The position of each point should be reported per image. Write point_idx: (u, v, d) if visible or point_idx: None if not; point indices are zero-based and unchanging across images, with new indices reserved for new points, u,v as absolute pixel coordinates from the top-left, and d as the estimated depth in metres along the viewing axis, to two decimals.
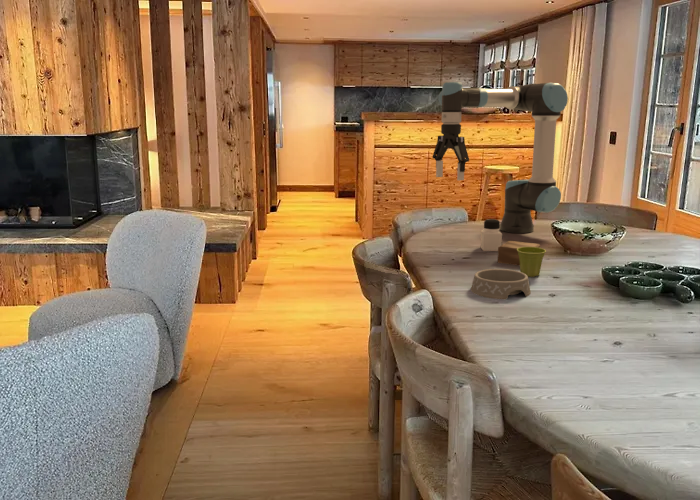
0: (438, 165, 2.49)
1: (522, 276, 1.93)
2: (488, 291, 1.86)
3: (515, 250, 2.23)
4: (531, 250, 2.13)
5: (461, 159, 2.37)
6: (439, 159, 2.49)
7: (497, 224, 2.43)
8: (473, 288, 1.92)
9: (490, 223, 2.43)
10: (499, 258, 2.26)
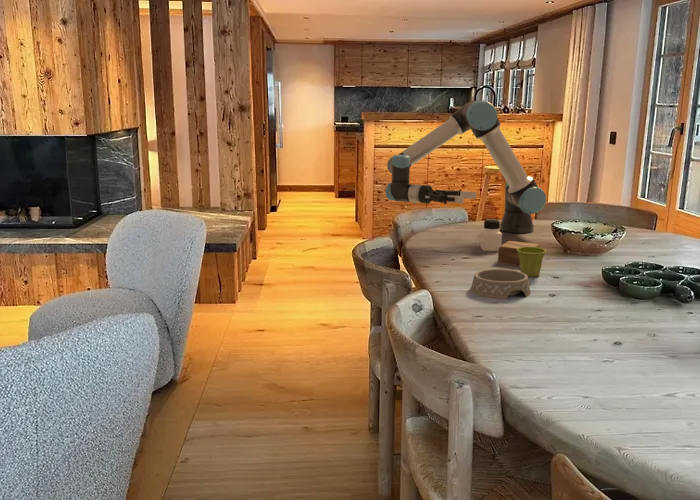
0: (464, 196, 2.56)
1: (522, 276, 1.93)
2: (488, 291, 1.86)
3: (516, 250, 2.23)
4: (531, 250, 2.13)
5: None
6: (459, 194, 2.58)
7: (497, 224, 2.43)
8: (473, 288, 1.92)
9: (490, 223, 2.43)
10: (499, 258, 2.26)
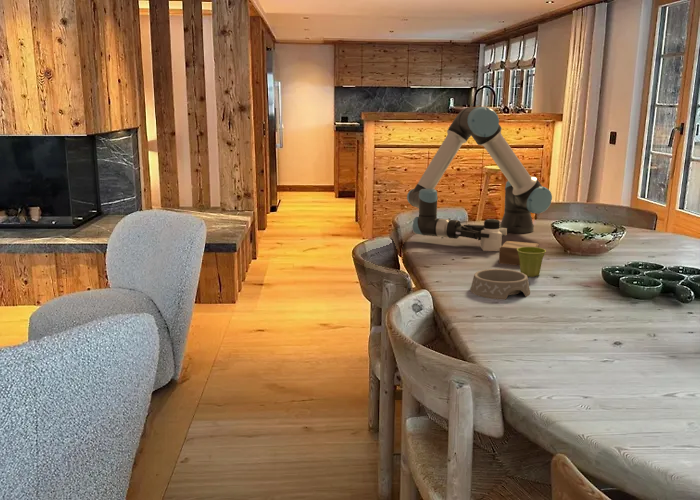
0: None
1: (522, 276, 1.93)
2: (487, 291, 1.86)
3: None
4: (531, 250, 2.13)
5: None
6: None
7: (497, 224, 2.43)
8: (473, 288, 1.91)
9: (490, 223, 2.43)
10: (500, 259, 2.26)
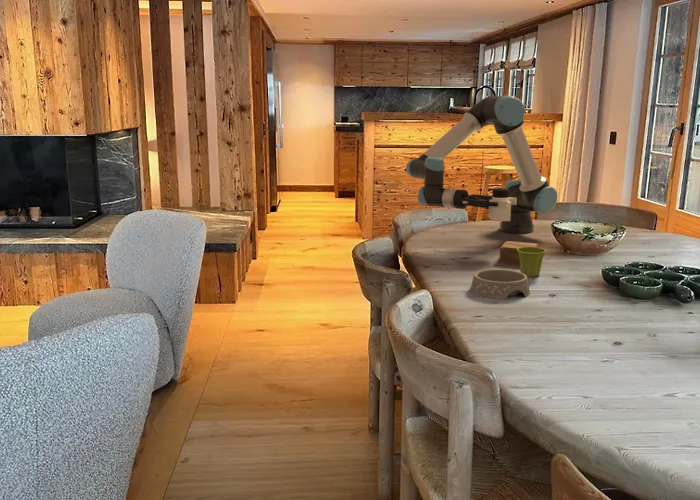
0: None
1: (521, 276, 1.93)
2: (487, 291, 1.86)
3: None
4: (531, 250, 2.13)
5: None
6: None
7: (506, 192, 2.31)
8: (472, 288, 1.91)
9: (499, 191, 2.31)
10: (501, 259, 2.25)
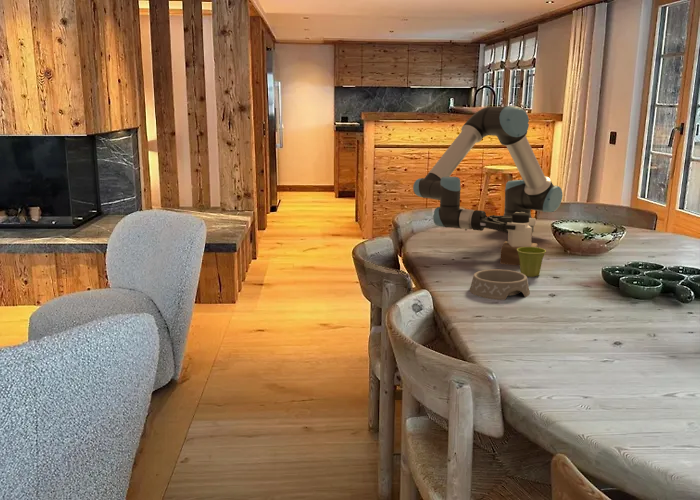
0: None
1: (521, 276, 1.93)
2: (487, 292, 1.86)
3: None
4: (531, 250, 2.13)
5: None
6: None
7: (526, 217, 2.23)
8: (472, 289, 1.91)
9: (519, 216, 2.23)
10: (502, 259, 2.25)
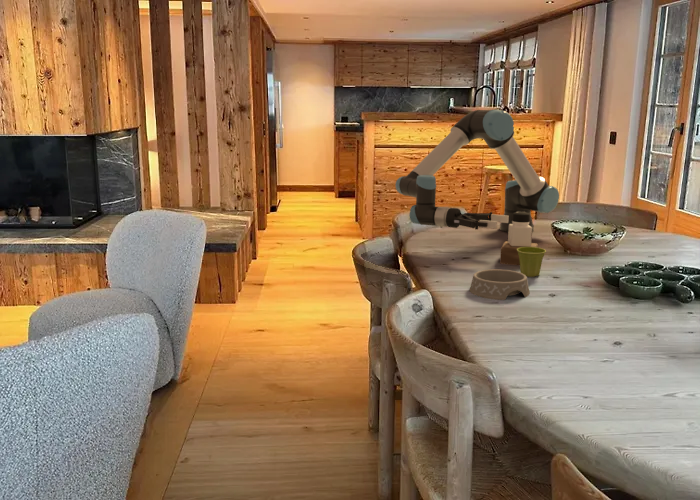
0: (495, 220, 2.37)
1: (521, 276, 1.93)
2: (487, 292, 1.86)
3: None
4: (531, 250, 2.13)
5: None
6: (490, 217, 2.39)
7: (527, 217, 2.23)
8: (472, 289, 1.91)
9: (519, 216, 2.23)
10: (502, 259, 2.25)
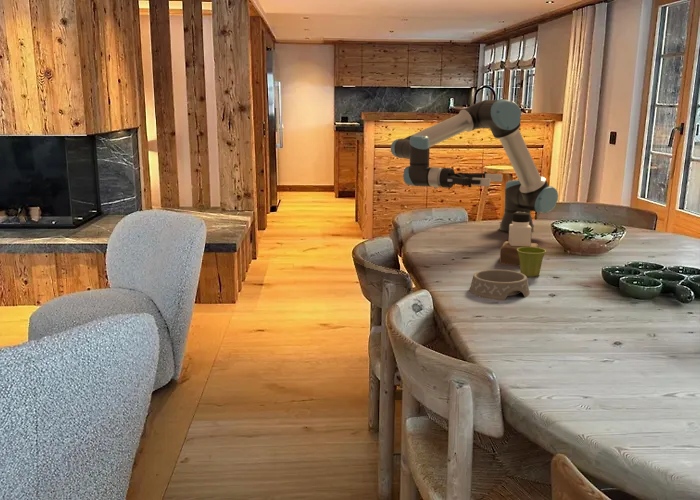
0: (489, 179, 2.35)
1: (521, 277, 1.93)
2: (487, 292, 1.86)
3: None
4: (531, 250, 2.13)
5: None
6: (484, 176, 2.37)
7: (526, 217, 2.23)
8: (472, 289, 1.91)
9: (518, 216, 2.23)
10: (501, 259, 2.25)
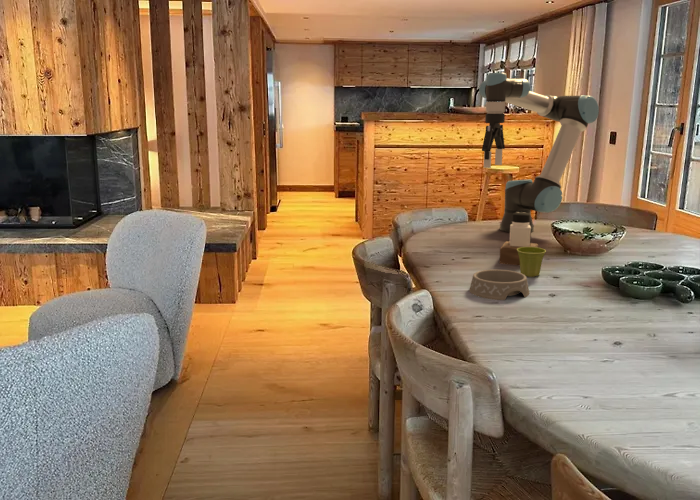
0: (496, 153, 2.58)
1: (521, 277, 1.93)
2: (486, 292, 1.85)
3: None
4: (531, 250, 2.13)
5: None
6: (499, 147, 2.57)
7: (526, 217, 2.23)
8: (471, 289, 1.91)
9: (518, 216, 2.23)
10: (501, 259, 2.25)
